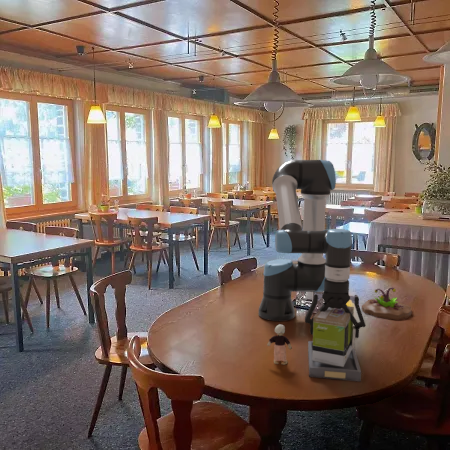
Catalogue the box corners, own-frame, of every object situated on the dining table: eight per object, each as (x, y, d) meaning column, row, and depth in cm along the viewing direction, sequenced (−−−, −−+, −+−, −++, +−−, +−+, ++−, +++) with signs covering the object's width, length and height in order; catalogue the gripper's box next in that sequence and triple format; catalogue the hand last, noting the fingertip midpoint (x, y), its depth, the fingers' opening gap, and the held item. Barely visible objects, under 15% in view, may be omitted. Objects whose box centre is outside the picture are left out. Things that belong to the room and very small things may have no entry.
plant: (404, 323, 181) (406, 296, 180) (357, 313, 192) (358, 288, 191) (415, 310, 198) (417, 285, 196) (371, 301, 208) (372, 278, 207)
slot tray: (309, 377, 135) (309, 368, 134) (308, 349, 154) (308, 341, 154) (360, 382, 132) (361, 372, 132) (352, 352, 152) (353, 344, 152)
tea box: (322, 343, 152) (324, 301, 149) (352, 349, 147) (355, 306, 145) (311, 361, 138) (313, 315, 136) (343, 368, 134) (346, 321, 132)
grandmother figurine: (290, 360, 146) (291, 322, 144) (291, 365, 142) (292, 327, 140) (266, 359, 146) (267, 322, 144) (267, 364, 142) (268, 326, 141)
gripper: (298, 279, 138) (295, 347, 141) (378, 284, 134) (373, 353, 137) (298, 273, 145) (296, 337, 148) (374, 278, 141) (370, 343, 144)
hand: (333, 345), depth 143 cm, fingers closed on tea box, 11 cm apart
